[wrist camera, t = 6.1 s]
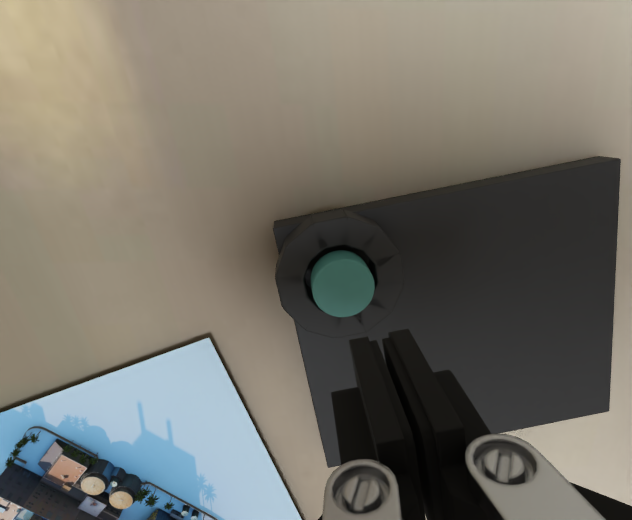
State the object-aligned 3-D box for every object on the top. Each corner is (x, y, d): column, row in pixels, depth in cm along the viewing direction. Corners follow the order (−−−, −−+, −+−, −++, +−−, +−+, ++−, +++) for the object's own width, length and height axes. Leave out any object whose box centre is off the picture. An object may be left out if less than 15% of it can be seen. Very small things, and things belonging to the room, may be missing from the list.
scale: (599, 150, 20) (651, 155, 17) (592, 395, 25) (632, 431, 22) (267, 217, 20) (264, 233, 17) (321, 450, 24) (326, 493, 22)
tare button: (364, 244, 18) (370, 253, 17) (373, 298, 19) (379, 311, 17) (305, 256, 18) (306, 266, 17) (316, 309, 19) (318, 323, 17)
